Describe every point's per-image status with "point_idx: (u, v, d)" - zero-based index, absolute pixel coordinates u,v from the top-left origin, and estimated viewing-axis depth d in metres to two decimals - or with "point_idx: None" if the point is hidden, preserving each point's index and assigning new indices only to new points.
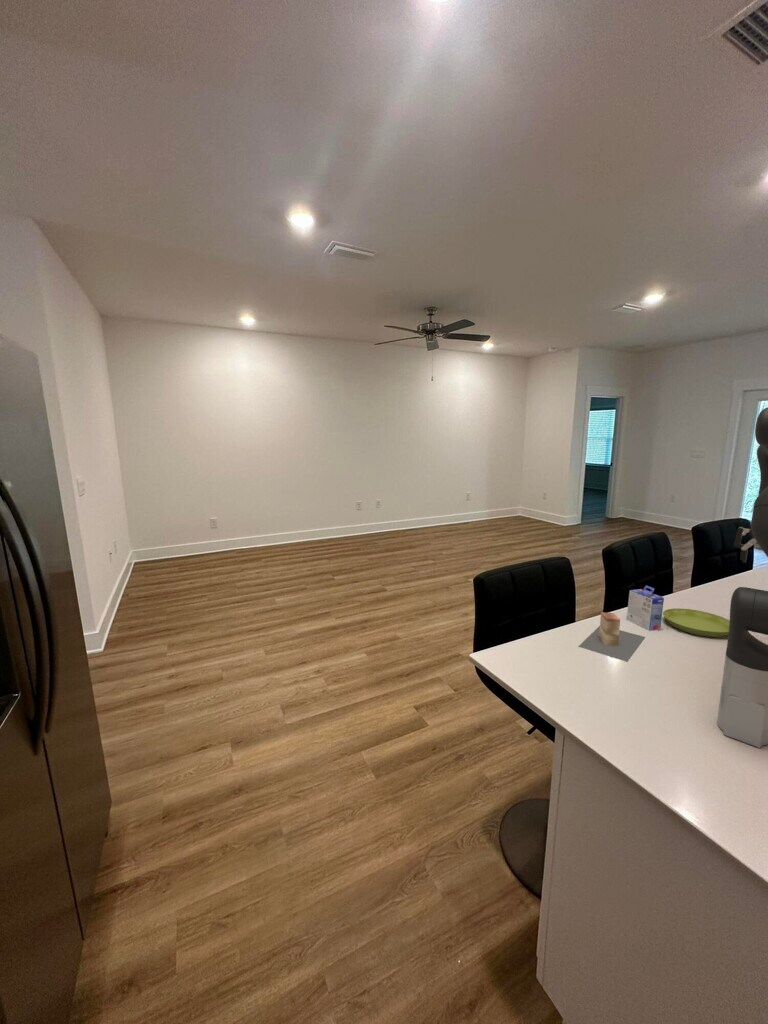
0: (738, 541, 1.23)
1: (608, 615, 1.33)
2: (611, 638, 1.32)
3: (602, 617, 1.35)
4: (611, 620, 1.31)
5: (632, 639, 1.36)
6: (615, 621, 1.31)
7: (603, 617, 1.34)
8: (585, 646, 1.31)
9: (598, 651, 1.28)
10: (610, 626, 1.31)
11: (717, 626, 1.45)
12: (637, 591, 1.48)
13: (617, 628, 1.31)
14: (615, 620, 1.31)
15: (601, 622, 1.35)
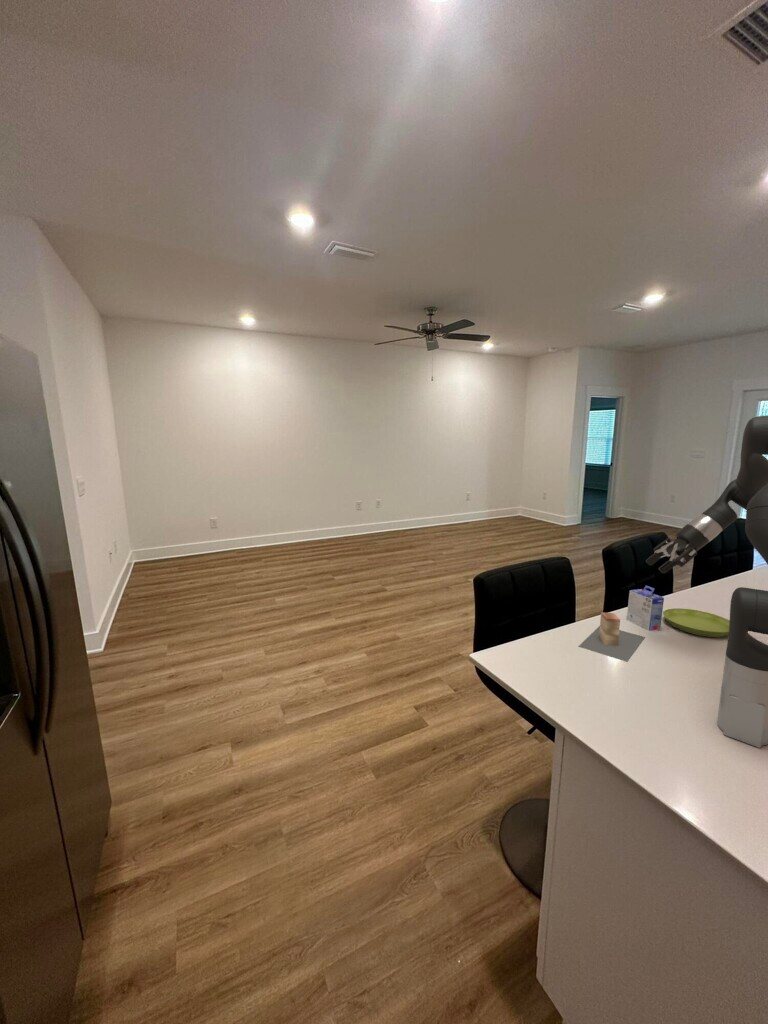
0: (658, 546, 1.33)
1: (608, 615, 1.33)
2: (611, 638, 1.32)
3: (602, 617, 1.35)
4: (611, 620, 1.31)
5: (632, 639, 1.36)
6: (615, 621, 1.31)
7: (603, 617, 1.34)
8: (585, 646, 1.31)
9: (598, 651, 1.28)
10: (610, 626, 1.31)
11: (717, 626, 1.45)
12: (637, 591, 1.48)
13: (617, 628, 1.31)
14: (615, 620, 1.31)
15: (601, 622, 1.35)
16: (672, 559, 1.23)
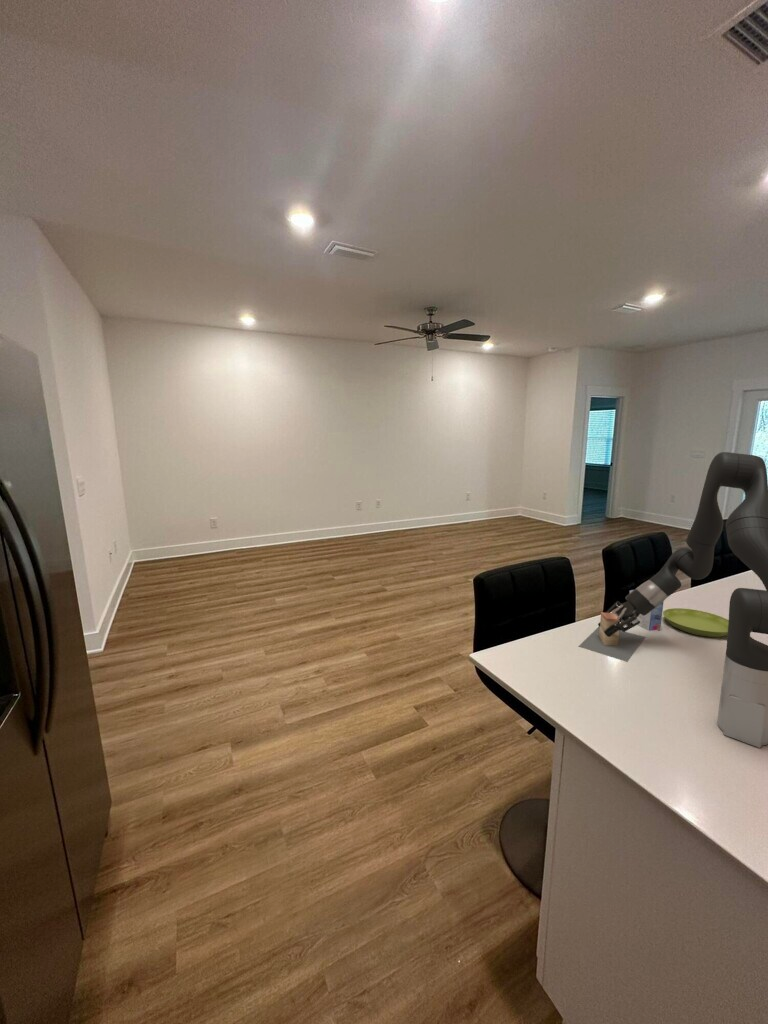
0: (610, 609, 1.38)
1: (608, 615, 1.33)
2: (611, 638, 1.32)
3: (602, 617, 1.35)
4: (611, 620, 1.31)
5: (632, 639, 1.36)
6: (614, 620, 1.31)
7: (603, 617, 1.34)
8: (585, 646, 1.31)
9: (598, 651, 1.28)
10: None
11: (717, 626, 1.45)
12: None
13: None
14: (615, 620, 1.31)
15: (601, 622, 1.35)
16: (616, 624, 1.30)
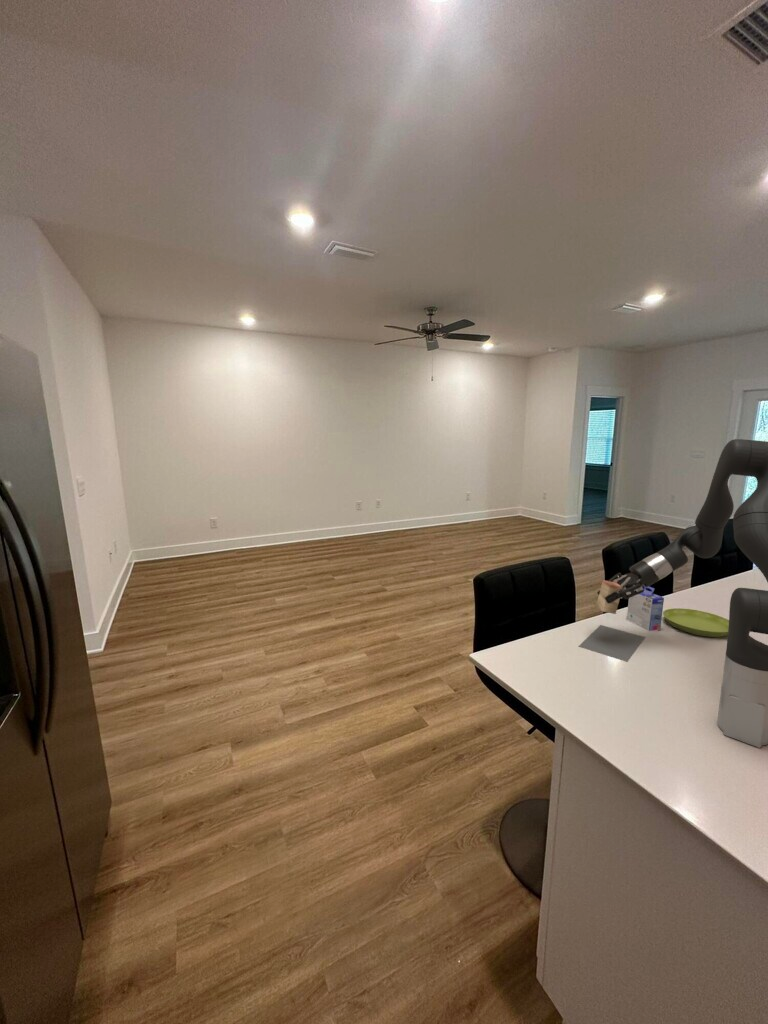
0: (610, 580, 1.36)
1: (611, 583, 1.31)
2: (610, 605, 1.30)
3: (604, 584, 1.32)
4: (614, 587, 1.29)
5: (632, 639, 1.36)
6: (617, 588, 1.29)
7: (605, 584, 1.32)
8: (585, 646, 1.31)
9: (598, 651, 1.28)
10: None
11: (717, 626, 1.45)
12: None
13: None
14: (618, 587, 1.29)
15: (601, 590, 1.33)
16: (618, 591, 1.28)
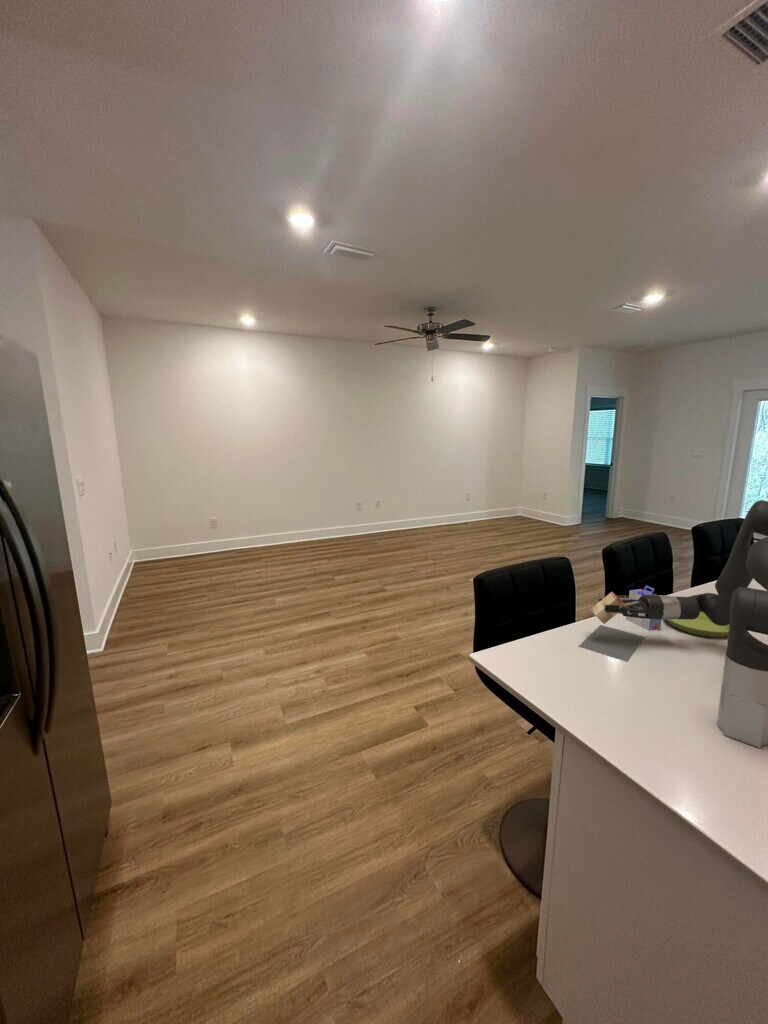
0: None
1: None
2: (605, 614, 1.31)
3: (610, 595, 1.33)
4: (619, 601, 1.30)
5: (632, 639, 1.36)
6: (621, 604, 1.30)
7: (612, 595, 1.32)
8: (585, 646, 1.31)
9: (598, 651, 1.28)
10: None
11: (717, 626, 1.45)
12: (637, 591, 1.48)
13: None
14: (622, 604, 1.30)
15: (605, 598, 1.34)
16: (621, 606, 1.29)
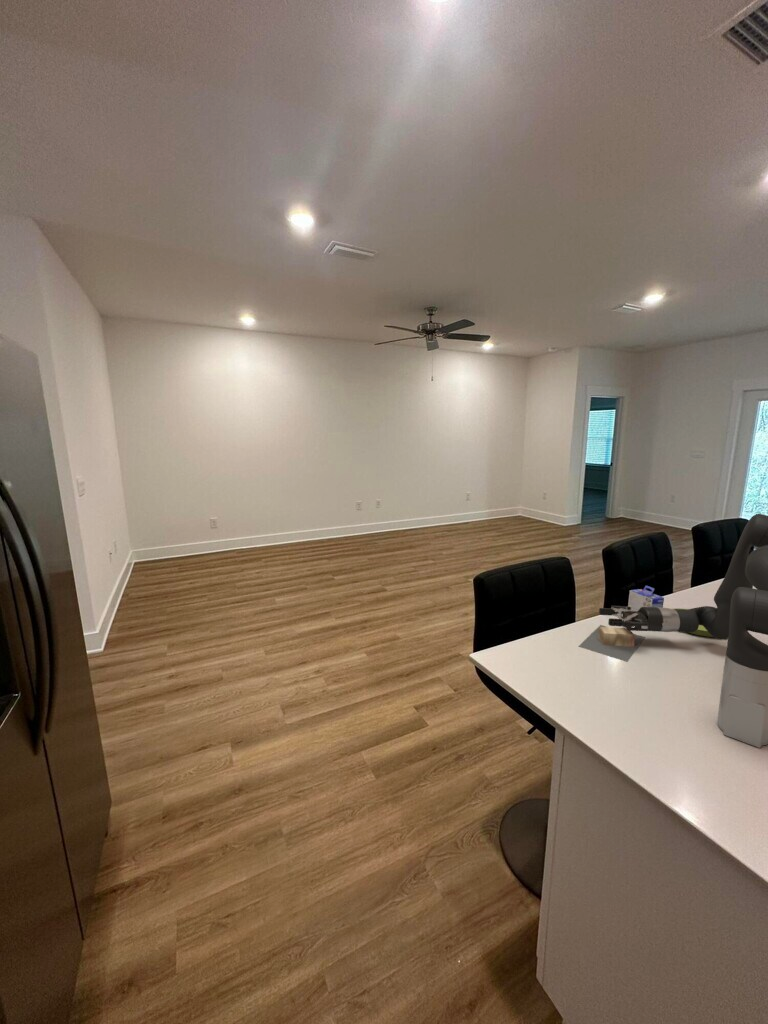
0: (617, 606, 1.38)
1: None
2: (612, 639, 1.32)
3: (626, 629, 1.34)
4: (632, 639, 1.31)
5: None
6: (631, 642, 1.31)
7: (628, 631, 1.33)
8: (585, 646, 1.31)
9: (598, 651, 1.28)
10: (625, 638, 1.31)
11: None
12: (637, 591, 1.48)
13: (623, 644, 1.31)
14: (632, 642, 1.31)
15: (619, 628, 1.35)
16: (625, 620, 1.28)
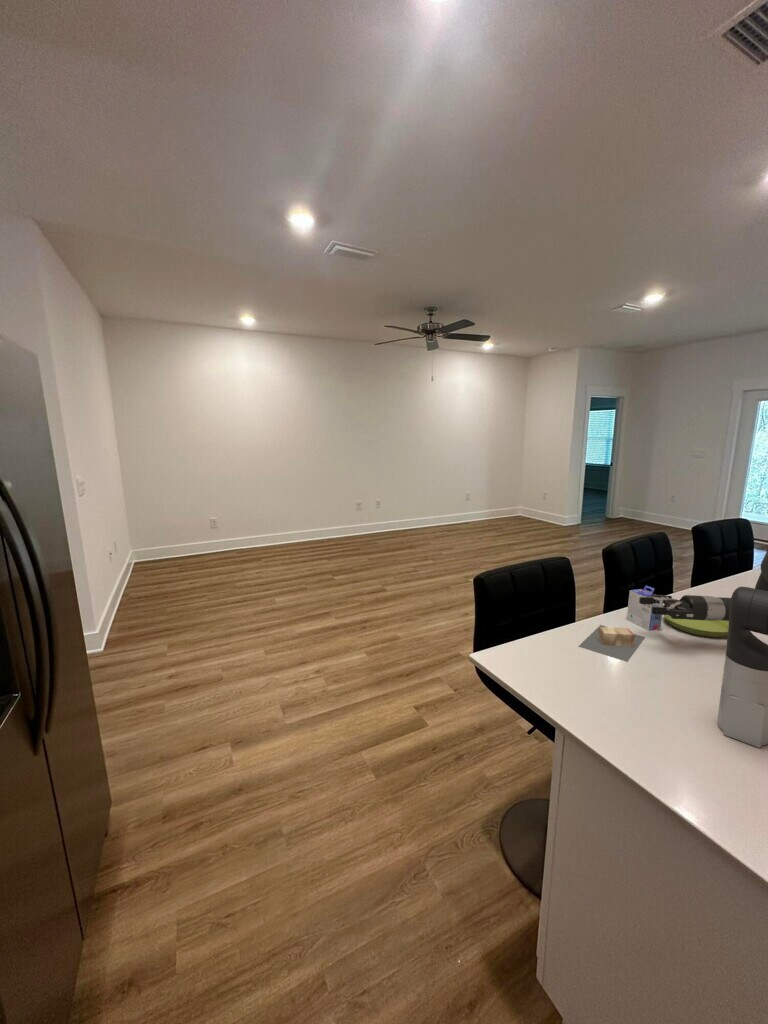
0: (658, 595, 1.36)
1: None
2: (612, 639, 1.32)
3: (626, 629, 1.34)
4: (632, 639, 1.31)
5: None
6: (631, 642, 1.31)
7: (628, 631, 1.33)
8: (585, 646, 1.31)
9: (598, 651, 1.28)
10: (625, 638, 1.31)
11: (717, 626, 1.45)
12: (637, 591, 1.48)
13: (623, 644, 1.31)
14: (632, 642, 1.31)
15: (619, 628, 1.35)
16: (670, 608, 1.25)
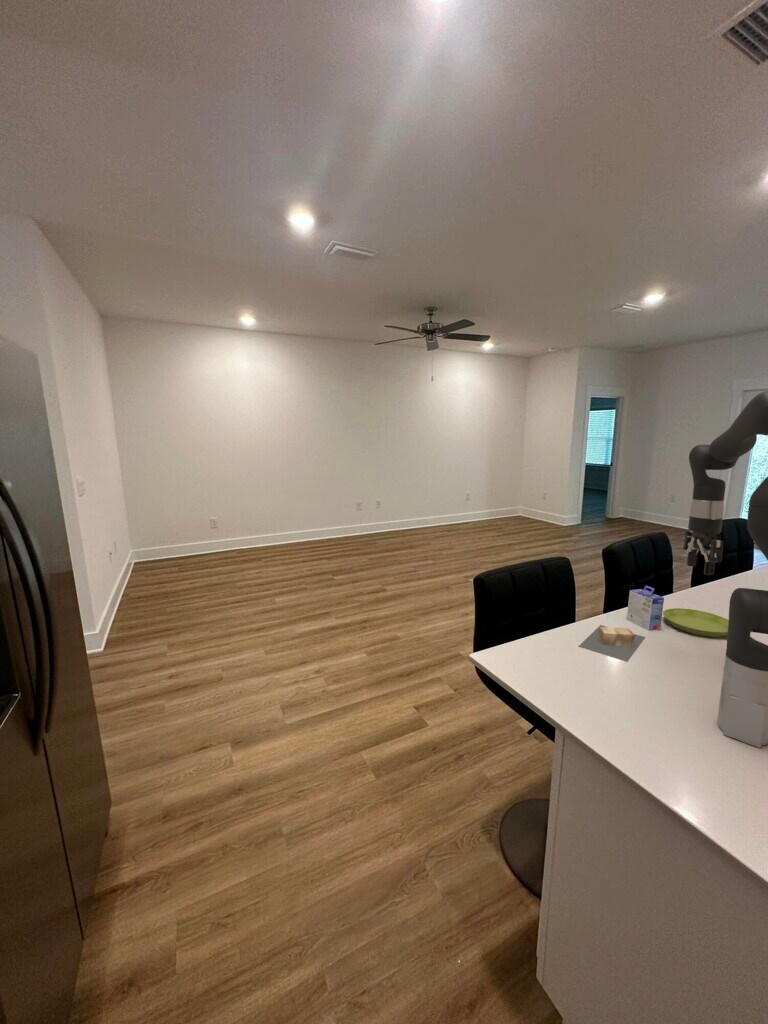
0: (685, 544, 1.24)
1: None
2: (612, 639, 1.32)
3: (626, 629, 1.34)
4: (632, 639, 1.31)
5: None
6: (631, 642, 1.31)
7: (628, 631, 1.33)
8: (585, 646, 1.31)
9: (598, 651, 1.28)
10: (625, 638, 1.31)
11: (717, 626, 1.45)
12: (637, 591, 1.48)
13: (623, 644, 1.31)
14: (632, 642, 1.31)
15: (619, 628, 1.35)
16: (707, 559, 1.14)
